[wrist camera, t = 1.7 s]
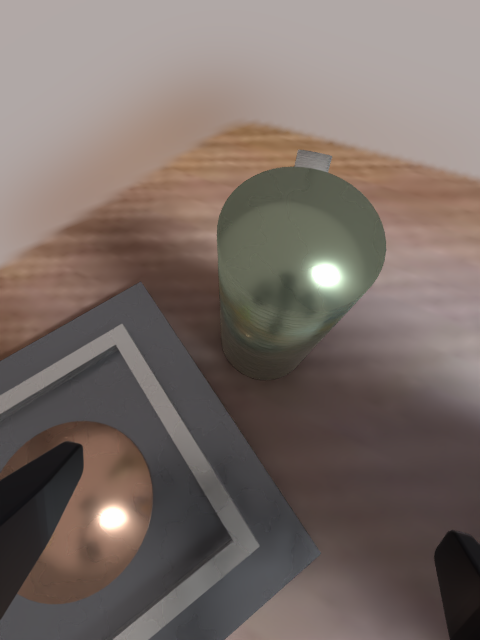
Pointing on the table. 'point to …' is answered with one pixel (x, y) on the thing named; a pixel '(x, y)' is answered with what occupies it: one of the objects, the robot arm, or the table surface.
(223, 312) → the spout can
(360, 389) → the table surface
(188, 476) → the port plate
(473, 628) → the robot arm
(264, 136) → the table surface
